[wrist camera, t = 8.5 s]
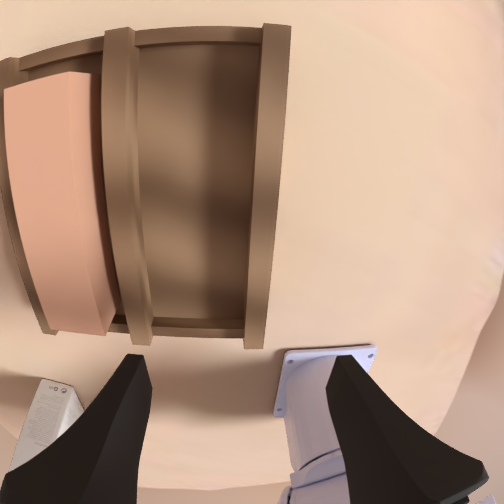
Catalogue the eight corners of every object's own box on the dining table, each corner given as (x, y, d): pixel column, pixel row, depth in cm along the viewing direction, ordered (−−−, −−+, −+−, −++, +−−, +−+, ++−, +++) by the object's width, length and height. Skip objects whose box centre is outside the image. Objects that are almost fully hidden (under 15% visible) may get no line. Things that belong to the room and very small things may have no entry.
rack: (259, 319, 22) (262, 349, 19) (58, 308, 20) (43, 333, 18) (280, 38, 13) (291, 26, 11) (23, 63, 12) (-5, 63, 9)
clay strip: (120, 300, 19) (105, 335, 16) (70, 296, 19) (50, 329, 16) (99, 74, 13) (69, 71, 10) (40, 86, 12) (4, 89, 9)
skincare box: (40, 376, 24) (2, 470, 14) (76, 385, 25) (43, 489, 14) (58, 408, 27) (31, 493, 17) (91, 417, 28) (68, 508, 17)
